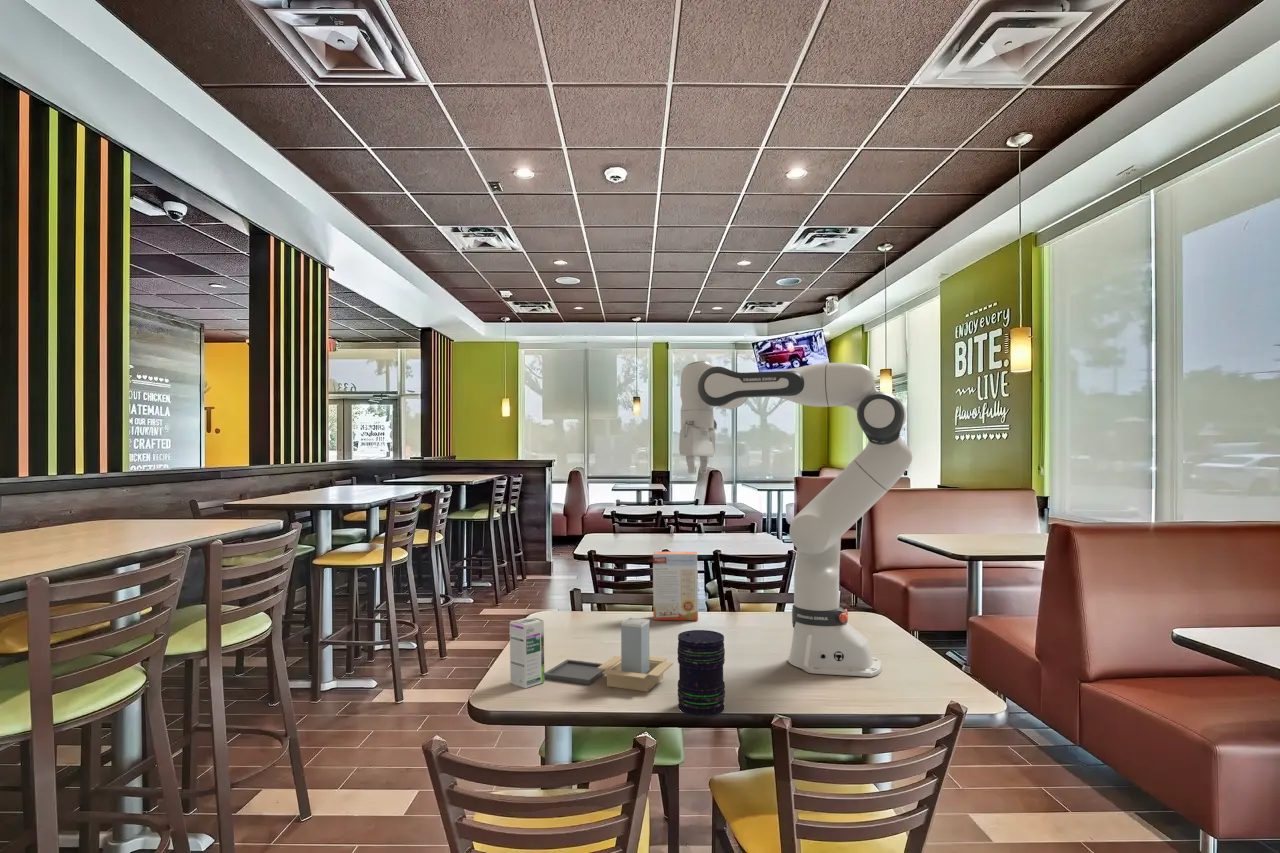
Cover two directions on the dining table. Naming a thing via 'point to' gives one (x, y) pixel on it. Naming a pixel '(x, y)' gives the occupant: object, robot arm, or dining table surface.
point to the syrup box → (527, 652)
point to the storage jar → (701, 673)
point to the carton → (634, 674)
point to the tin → (635, 645)
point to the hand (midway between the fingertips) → (697, 473)
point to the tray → (575, 672)
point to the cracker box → (675, 586)
